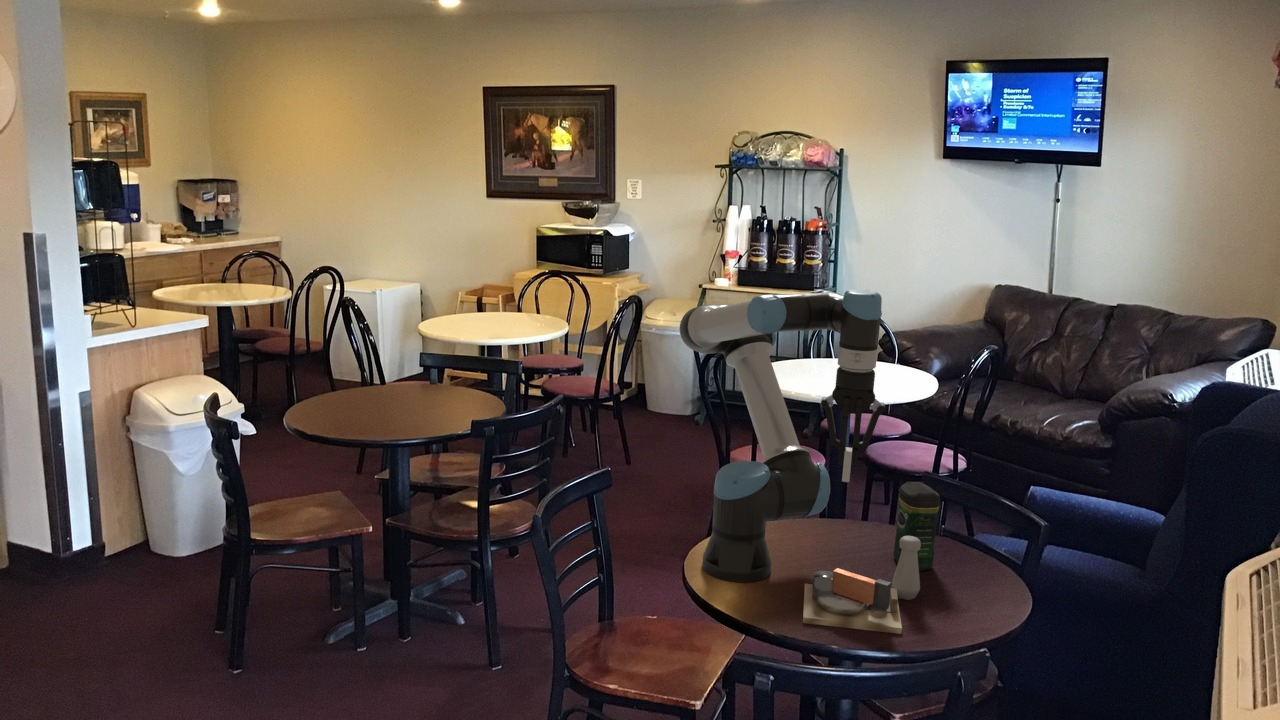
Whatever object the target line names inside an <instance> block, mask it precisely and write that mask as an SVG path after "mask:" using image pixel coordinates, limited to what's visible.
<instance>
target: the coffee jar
mask: <svg viewBox="0 0 1280 720" xmlns="http://www.w3.org/2000/svg"><path fill="white" fill-rule="evenodd" d="M940 498H941V496H940V494H939V493H938V492H937V491H935V490H934V489H933V488H932V487H930V485H927V484H925V483H924V482H922V481H905V483H903V484H902V485H901V486H900V488H899V494H898V513H897V522H896V530H895V531H896V532H895V538H894V546H893V554H892V555H893V558H894V560H895V561H896V562H897V563H898V562H899V558H900V555H901V551H902V549H901V548H900V539H901V538H902V537H903V536H914V537H916V538H918V539H919V540H920V543H921V547H920V550H918V551H917V556H918V568H919V572H920V571H926V570H931V569H932V568H933V566H934V560H935V559H934V558H935V548H936V546H935V545H936V534H937V533H936V532H937V524H938V523H937V521H938V514H939V510H940V504H941V503H940V501H941V499H940Z"/></svg>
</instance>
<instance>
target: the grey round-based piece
mask: <svg viewBox="0 0 1280 720" xmlns="http://www.w3.org/2000/svg"><path fill="white" fill-rule="evenodd" d="M812 584H813V587H812V599H813V600H815V601H817V604H818V605H819V606H820V607H821V608H823V609H824V610H826V611H829V612H832V613H836V614H842V615H854V614H859V613H862V612H864V611H865V610H866V608H867V603H868V604H871V605H873V607H874V608H877V609H880V610H883V611H886V610H887V609H888V608H889V600H890V590H891V588H892V581H887V580H885V579H881V578H878V579H873V578H869V577H867V576H863V575H860V574H857V573H854V572H850V571H849V570H845V569H841V568H838V567H837V568H835V569H834V570H832V571H828V570H817V571H814V572H813V575H812Z"/></svg>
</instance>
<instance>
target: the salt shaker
mask: <svg viewBox="0 0 1280 720" xmlns="http://www.w3.org/2000/svg"><path fill="white" fill-rule="evenodd" d="M920 547H921V543H920V540H919V539H918V538H916V537H914V536H903V537H902V538H901V539H900V548H901V549H902V551H901V555H900V558H899V562H897V565H896V568H895V572H894V575H893V579H892V581H891V588H896V590H897V596H898V599H900V600H908V601H911V600H914V599H916V597H917V595H918V594H919V592H920V590H921V580H920V571H919V568H918V556H917V551H918V550H920Z"/></svg>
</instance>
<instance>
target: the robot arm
mask: <svg viewBox="0 0 1280 720" xmlns="http://www.w3.org/2000/svg"><path fill="white" fill-rule="evenodd" d="M882 298H883V297H882V295H881V294H880V293H879V292H877V291H874V290H868V289H857V288H856V289H855V288H854V289H848V290H846V291H845V292H844V294H841V293H837V292H835V291H833V290H830V289H827V290H826V289H815V290H814V291H812V292H811V293H794V294H792V293H791V294H788V293H787V294H773V293H769V294H768V293H767V294H762V295H757V296H754V297H753V298H751V300H747V301H742V302H738V303H729V304H728V303H727V304H725V303H723V304H721V303H720V304H703V305H698V306H695V307H693V308H691V309H689V310H688V311H686V313H685V314H684V315H683V316H682V318H681V320H680V323H679V334H680V338H681V339H682V342H683V343H684V344H685V346H687V347H688V348H689V349H690V350H692V351H695V352H697V353H701V354H706V355H708V354H709V355H710V354H723V357H724V360H725V362H726V365H727V366H729V367H731V368H734V371H735V373H736V376H737V379H738V383H739V385H740V389H741V392H742V394H743V398H744V401H745V404H746V407H747V410H748V413H749V416H750V419H751V422H752V426H753V429H754V432H755V434H756V439H757V441H758V445H759V448H760V451H761V454H762V457H763V459H762V461H756V460H755V461H754V460H751V461H747V460H739V461H734V462H730V463H728V464H725V465H723V466H722V467H721V468H720V469H718V471H717V472H716V474H715V481H714V486H713V511H712V527H711V528H712V530H711V533H710V534H711V535H710V537H709V540H708V542H707V544H706V547H705V550H704V552H703V554H702V563H701V564H702V569H703V570H704V572H706V573H707V575H710V576H711V577H714V578H716V579H719V580H722V581H727V582H735V583H749V582H750V583H751V582H757V581H761V580H763V579H766V578H767V577H768V576H769V575H770V574H771V571H772V558H771V554H770V550H769V547H768V543H767V539H766V530H767V529H766V527H767V523H768V522H773V521H782V520H789V519H795V518H797V519H798V518H807V517H809V516H813V515H817V514H820V513H822V511H823V510H824V509H825V508H826V507H827V504H828V503H829V499H830V494H831V479H830V475H829V472H828V470H827V468H826V467H825V465H823V464H822V463H821V462H818V461H813V460H812V457H811V454H810V451H809V450H808V449H806V448H804V447H802V446H801V445H800V441H799V440H798V437H797V434H796V431H795V427H794V425H793V422H792V419H791V416H790V414H789V410H788V407H787V404H786V402H785V401H786V400H785V399H784V396H783V393H782V391H781V390H782V389H781V388H780V384H779V380H778V378H777V375H776V372H775V369H774V366H773V363H772V361H771V358H770V356H771V355H772V353H773V351H774V345H775V343H776V340H777V336H778V335H777V333H783V332H796V331H797V332H798V331H799V332H800V331H801V332H802V331H821V330H823V331H824V330H828V331H831V332H832V331H833V332H835V333H839V344H838V355H837V356H838V357H837V365H838V367H837V368H836V375H835V387H834V389H833V391H832V394H829V396H827V397H826V396H823V397H821V401H820V405H821V406H822V408H823V409H824V411H825V417H826V422H827V431H828V436H829V437H828V438H829V441H830V445H831V446H832V447H834V448H837V449H838V457H837V463H838V465H842V467H843V468H842V476H841V482H844V483H850V478H851V467H856V466H857V464H858V455H859V451H860V450H861V451H862V450H867V449H868V448H869V444H870V443H871V439H872V436H873V434H874V431H875V429H876V426H877V423H878V420H879V418H880V416H881V415H882V414H883V413H884V412H885V410H886V404H885V403H884V402H881V401H879V400H878V399H876V394H875V392H874V388H875V387H874V386H875V377H876V371H875V370H874V369H876V367H877V358H878V345H879V338H880V337H879V336H880V328H881V319H882V315H883V312H882V300H883V299H882ZM834 402H835V404H836V406H837V407H838V408H839V410H840V411H841V412H842V413H841V414H842V416H841V424H840V425H841V426H840V435H839V439H838V436H837V432H836V426H835V418H834V414H833V413H834V411H833V408H832V407H833V406H834ZM871 405H872V407H871ZM870 407H871V408H872V414H871V417H870V418H869V421H868V425H867V427H866V430H865V432H864V435H863V438H862V441H860V435H861V425H862V415H863V413H865V412H866V411H867V410H868V409H869V408H870ZM849 414H854V425H853V437H852V444H851V445H852V446H851V447H847V444H846V442H847V433H848V423H849Z"/></svg>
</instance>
